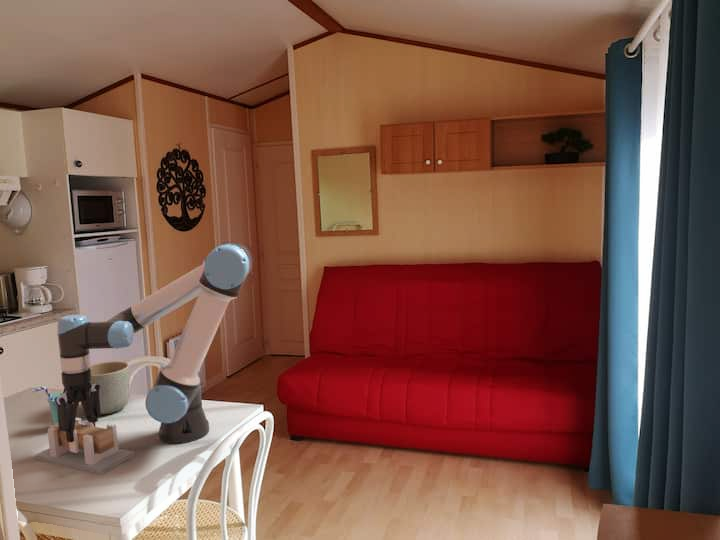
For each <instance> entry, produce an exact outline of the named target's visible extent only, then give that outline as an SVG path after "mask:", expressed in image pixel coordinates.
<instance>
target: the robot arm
mask: <svg viewBox="0 0 720 540" xmlns="http://www.w3.org/2000/svg"><path fill="white" fill-rule="evenodd" d="M253 264H254V260H253V255H252V253H251V251H250V250H249V248H248V247H247V246H246V245H244V244H243V243H241V242H236V241H229V242H225V243H223V244H220V245H218V246H216V247H214V248H213V249H211V251H210V253H208V255H207V256H206V258H204V259H203V262H202V264H201V265H199V266H197V267H196V268H194V269H193V270H190V271H189V272H187V273H185V274H184V275H182V276H180V277H178V278H177V279H175V280H173V281H172V282H169V284H167V285H165V286H163V287H161V288H159V290H156V291H154V292H153V293H152V294H150V295H148V296H146V297H144V298H143V299H142V300H139V301H138V302H136V303H134V304H133V305H131V306H130V307H128V308H126V309H125V310H122V311H120V312H118V313H117V314H115V316H113V317H111V318H109V319H108V320H106V321H97V322H95V321H94V322H92V321H91V322H90V321H88V319H87V316H86V315H85V314H69V315H65V316H61V317H60V318H58V320H57V337H58V338H57V339H58V340H57V341H58V347H59V349H58V350H59V359H60V360H59V361H60V370H61V371H62V372H61V384H62V386H63V392H62V393H63V394H62V395H61V396H60V397H56V398H55V402H56V404H57V412H58V425H59V430H60V431H65V432H66V437H67V442H69V448H70V452H75V453H77V452H79V449H78V438H77V430H74V427H75V419H76V418H77V410H78V407H79V405H80V404H82V405H81V407H82V410H83V412H84V416H85V418H86V421H84V425H88V426H94V427H96V423H97V422H98V421H99V419H98V418H101V416H102V415H101V411H100V400H99V389H100V385H98V384H91V382H90V381H91V369H90V368H89V367H90V365H91V357H90V350H92V349H93V350H94V349H95V350H97V349H100V350H101V349H123V348H129V347H130V346H131V345H132V343H133V341H134V334H136V333H137V332H139V331H140V330H142V329H145V328H146V327H147V326H149V325H151V324H153V323H154V322H156V321H157V320H159V319H161V318H163V317H164V316H166V315H168V314H169V313H171V312H173V311H175V310H176V309H178V308H180V307H181V306H184V305H185V304H186V303H188V302H190V301H192V300H193V299H195V298H196V301H195V303H194V306H193V308H192V310H191V313H190V314H189V317H188V319H187V321H186V324H185V326H184V328H183V331H182V333H181V335H180V338H179V340H178V342H177V344H176V347H175V349H174V352H173V354H172V356H171V359H170V360H169V362H166V363H165V362H164V363H163V364H161V365H160V370H159V372H158V375H157V376H156V379H155V381H154V384H153V385H152V388H150V390H149V391H148V392H147V393H146V394H147V395H146V398H145V402H144V403H145V409H146V411H147V413H148V415H149V416H150V418H152V419H154V420H155V421H157V422H159V423H160V426H159V429H158V436H159V439H160V440H161V441H163V442H165V443H170V444H171V443H172V444H180V443H181V444H182V443H189V442H192V441H196V440H198V439H201V438H203V437H205V436H206V435H208V433H209V432H210V423H209V421H208V420H209V419H207V418H206V417H207V416H206V414H205V411H204V409H203V402H202V385H201V383H202V382H201V368H202V365H203V363H204V360H205V358H206V356H207V354H208V351H209V349H210V347H211V345H212V342H213V340H214V338H215V335H216V333H217V331H218V328H219V326H220V324H221V321H222V320H223V317H224V315H225V312H226V311H227V308H228V306H229V304H230V302H231V301H232V300H235V299H237V298H238V296H239V294H240V292H241V290H242V288H243V285H244V283H245V281H246V279H247V276H249V274H250V272H251V271H252V269H253ZM89 392H90V395H89ZM66 398H67V400H66ZM66 402H67V404H66Z"/></svg>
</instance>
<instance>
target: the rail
mask: <svg viewBox="0 0 720 540" xmlns="http://www.w3.org/2000/svg"><path fill="white" fill-rule="evenodd" d="M50 428H55V429H57V432H58V442H59V445H60V446H64V447H69V442H67V437H66V432H65V431H60V430H59V425H58V423H57V424H55V425H54V424H53V425H50V426H48V429H50ZM74 430H77V438H78V449H79V450H83V451H84V443H83V436H84V435H91V436H93V445H94V453H98V454H101V453H103V452H105V451H107V450H109V449H111V448H113V447H114V438H113V430H110V429H107V428H103V427H99V426H95V427H94V426H88V425H85V424H77V423H75V427H74Z"/></svg>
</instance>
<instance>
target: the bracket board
mask: <svg viewBox="0 0 720 540" xmlns="http://www.w3.org/2000/svg"><path fill="white" fill-rule="evenodd" d="M75 423H77V424H82V418H80V417H76V419H75ZM106 429H110V430H113V438H114V447H113V448H111V449H109V450H107V451H105V452H103V453H101V454H98V453H94V445H93V436H91V435H84V436H83V443H84V451H83V450H79V452H77V453H75V452H70V448H69V447H64V446H60V445H59V442H58V432H57V429H55V428H50V429H49V428H48V429H47V437H48V445H49V446H48V447H49V448H47V449H46V450H43V451H40V452H38V453H37V454H34V458H35V459H34V460H37V461H43V462H46V463H51V464H55V465H60V466H63V467H68V468H73V469H77V470H81V471H86V472H91V473H93V474H94V473H95V474H98V475H102V474H104V473H106V472H107V471H109V470H111V469H113V468H115V467H116V466H118V465H120V464H123V463H124V462H126V461H127V460H129V459H131V458H132V457H134V456H135V451H133V450H127V449H121V448H119V442H118V434H117V431H118V430H117V425H116V424H113V423H108V424H107V425H106Z"/></svg>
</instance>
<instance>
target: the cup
mask: <svg viewBox="0 0 720 540" xmlns="http://www.w3.org/2000/svg"><path fill="white" fill-rule="evenodd" d="M42 390H44V391H45V393H46V395H47V396H48V398H47V399H46V400H47V403H48V404H49V408H50V413H51V419H52V423H53V425H55V424H57V423H58V412H57V404H56V402H55V398H56V397H60V396H61V395H62V394H63V392H60V393H56V394H53V395H52V394H51V392H50V391H49V389H48V388H47V387H45V386H41V387H38V388H34V389H32V390H31V391H32V393H36V392H39V391H42ZM66 400H67V398H66ZM66 404H67V402H66Z"/></svg>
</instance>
